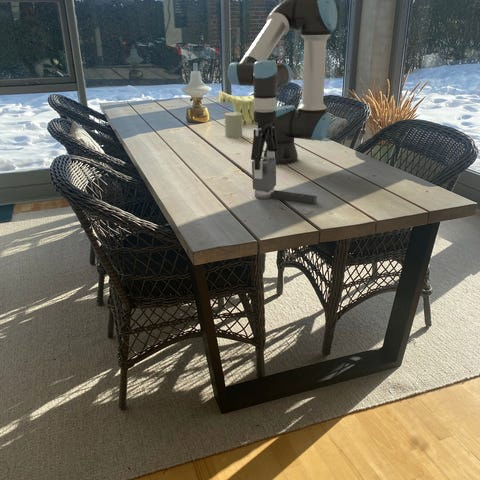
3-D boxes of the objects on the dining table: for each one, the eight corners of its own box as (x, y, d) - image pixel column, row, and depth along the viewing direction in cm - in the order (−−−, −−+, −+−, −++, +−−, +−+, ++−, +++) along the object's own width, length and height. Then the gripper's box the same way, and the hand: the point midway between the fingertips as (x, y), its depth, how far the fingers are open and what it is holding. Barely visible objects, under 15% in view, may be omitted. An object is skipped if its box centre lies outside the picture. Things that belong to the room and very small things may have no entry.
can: (241, 138, 254) (240, 114, 249) (223, 137, 256) (222, 114, 250) (243, 133, 262) (243, 111, 257) (226, 133, 264) (226, 111, 259)
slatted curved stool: (268, 117, 301) (268, 87, 293) (274, 122, 287) (274, 91, 279) (219, 119, 297) (218, 89, 289) (223, 125, 282) (222, 93, 275)
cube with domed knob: (259, 183, 178) (259, 155, 174) (276, 185, 176) (275, 157, 171) (252, 189, 173) (251, 161, 169) (269, 191, 171) (268, 162, 166)
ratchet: (259, 191, 180) (259, 174, 177) (318, 200, 171) (319, 182, 169) (251, 197, 175) (251, 180, 172) (312, 206, 166) (313, 188, 163)
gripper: (267, 103, 174) (267, 163, 183) (240, 115, 155) (241, 182, 164) (287, 104, 171) (285, 165, 180) (261, 117, 152) (261, 184, 162)
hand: (264, 173), depth 172 cm, fingers open, 10 cm apart
